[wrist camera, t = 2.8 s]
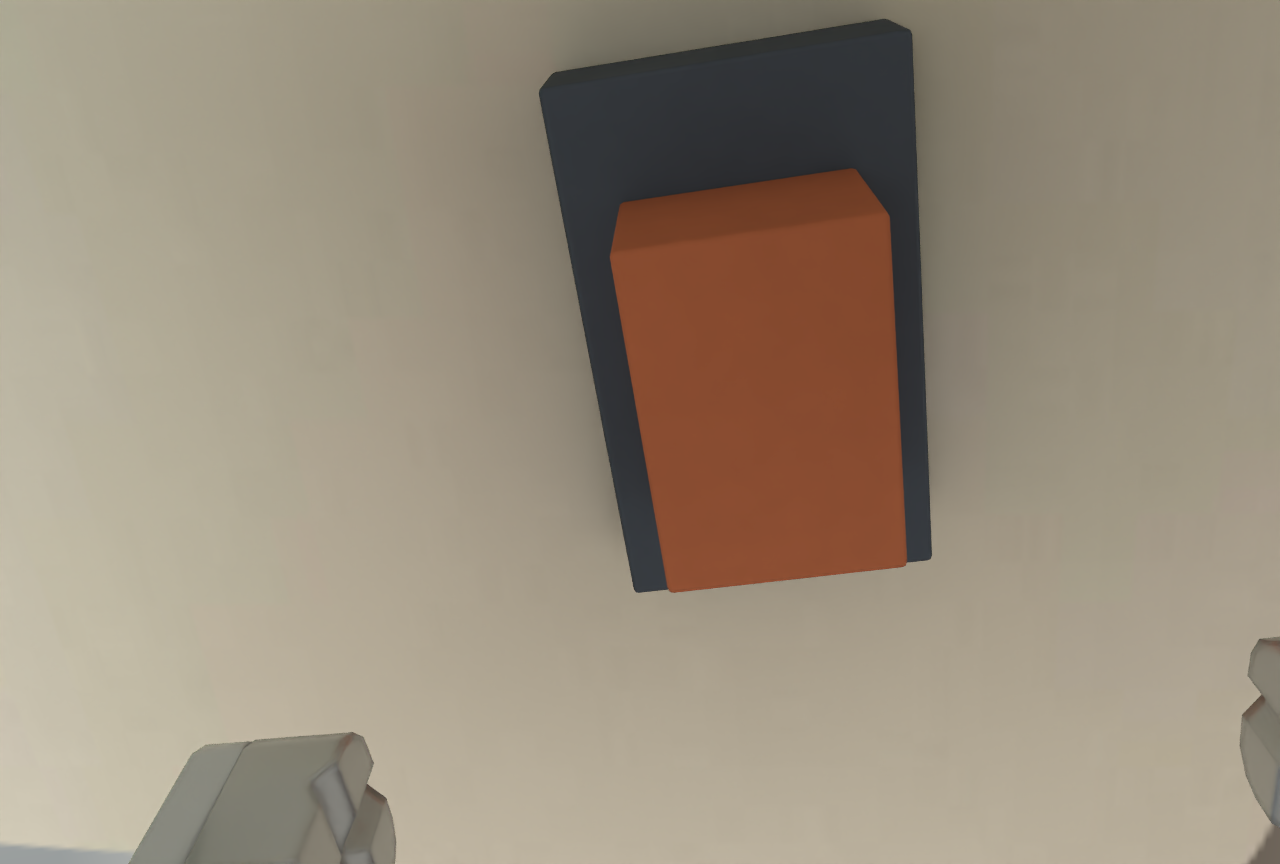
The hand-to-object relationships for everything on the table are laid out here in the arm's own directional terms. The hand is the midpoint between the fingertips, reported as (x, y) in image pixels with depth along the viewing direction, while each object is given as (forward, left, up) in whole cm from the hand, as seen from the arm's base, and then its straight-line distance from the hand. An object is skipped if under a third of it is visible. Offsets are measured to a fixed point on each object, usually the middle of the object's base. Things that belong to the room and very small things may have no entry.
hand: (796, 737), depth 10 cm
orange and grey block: (0, 0, -12) cm, 12 cm away
